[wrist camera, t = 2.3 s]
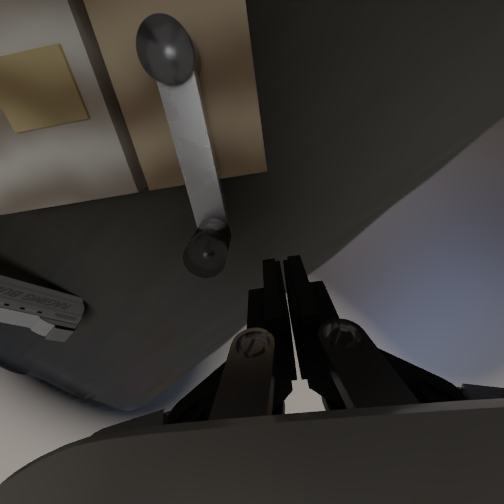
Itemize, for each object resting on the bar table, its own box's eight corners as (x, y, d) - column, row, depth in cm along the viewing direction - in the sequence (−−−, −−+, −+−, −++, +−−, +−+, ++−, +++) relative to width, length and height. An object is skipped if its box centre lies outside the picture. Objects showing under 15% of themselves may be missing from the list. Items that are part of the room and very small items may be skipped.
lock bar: (146, 35, 16) (89, -12, 10) (194, 25, 16) (160, -29, 10) (203, 243, 22) (186, 280, 17) (237, 239, 22) (231, 274, 17)
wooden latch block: (-76, 37, 20) (-167, 12, 16) (239, -40, 18) (233, -94, 13) (23, 204, 26) (-23, 219, 22) (265, 163, 24) (267, 171, 19)
